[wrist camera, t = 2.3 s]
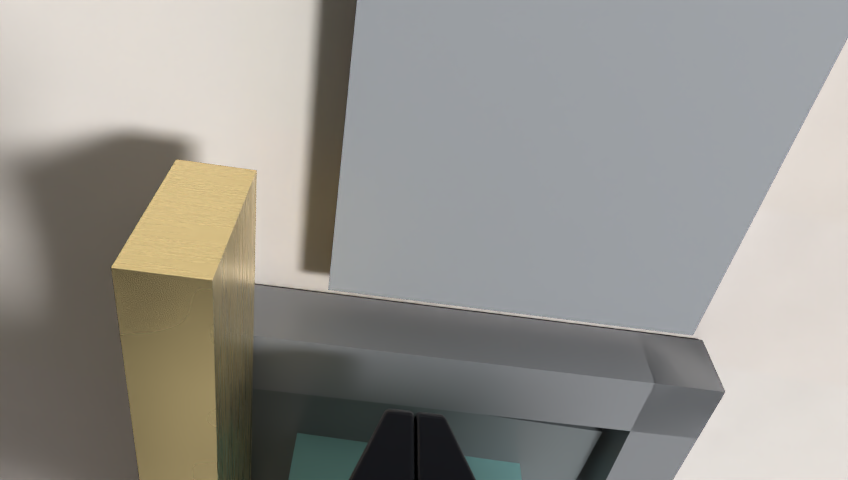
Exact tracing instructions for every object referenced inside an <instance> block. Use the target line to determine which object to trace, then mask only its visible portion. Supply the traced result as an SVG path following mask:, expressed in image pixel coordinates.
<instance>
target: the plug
mask: <svg viewBox="0 0 848 480" xmlns="http://www.w3.org/2000/svg"><path fill="white" fill-rule="evenodd" d="M386 409H399V410H408V411H412V412H413V413H414V416H415V414H416V413H418V412H426V413H435V414H441V415H443V416H444V417H445V418H446V419H447V421H448V423H449V425H450V427H451V429H452V431H453V433H454V435H455V438H456V440H457V442H458V444H459V446H460V448H461V450H462V452H463V454H464V456H465V458H466V460H467V462H468V464H469V466H470V469H471V471H472V473H473V475H474V477H475V479H476V480H576V479H577V477H578V476H579V474H580V472H581V470H582V468H583V466H584V465H585V463H586V461H587V459H588V457H589V456H590V454H591V452H592V450H593V448H594V446H595V445H596V443H597V441H598V439H599V437H600V436H601V434H602V428H598V427H589V426H581V425H572V424H563V423H554V422H545V421H536V420H527V419H518V418H510V417H501V416H492V415H483V414H474V413H465V412H456V411H447V410H439V409H430V408H421V407H412V406H403V405H394V404H385V403H376V402H368V401H359V400H350V399H341V398H332V397H323V396H314V395H305V394H297V393H288V392H279V391H270V390H261V389H253V391H252V445H251V480H349V478H350V476H351V474H352V472H353V470H354V468H355V466H356V464H357V463H358V461H359V459H360V457H361V455H362V453H363V451H364V449H365V447H366V445H367V443H368V441H369V440H370V438H371V436H372V434H373V432H374V430H375V428H376V426H377V424H378V422H379V420H380V418H381V417H382V415H383V413H384V411H385V410H386Z"/></svg>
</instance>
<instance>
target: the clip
mask: <svg viewBox="0 0 848 480" xmlns="http://www.w3.org/2000/svg"><path fill="white" fill-rule="evenodd" d="M256 176H257V170H250V169H242V168H235V167H228V166H221V165H213V164H206V163H199V162H192V161H184V160H177V159H176V161H175V162H174V164H173V166H172V167H171V169H170V171H169V172H168V174H167V176H166V177H165V179H164V180H163V182H162V184H161V185H160V187H159V189H158V190H157V192H156V194H155V195H154V197H153V199H152V200H151V202H150V204H149V205H148V207H147V209H146V210H145V212H144V214H143V215H142V217H141V219H140V220H139V222H138V224H137V225H136V227H135V229H134V230H133V232H132V234H131V235H130V237H129V239H128V240H127V242H126V244H125V245H124V247H123V249H122V250H121V252H120V254H119V255H118V257H117V259H116V260H115V262H114V264H113V265H112V267H111V271H112V279H113V286H114V294H115V301H116V309H117V316H118V324H119V331H120V338H121V346H122V353H123V361H124V368H125V376H126V383H127V391H128V398H129V406H130V413H131V421H132V428H133V436H134V443H135V451H136V458H137V465H138V473H139V480H251V445H252V391H253V337H254V283H255V229H256Z"/></svg>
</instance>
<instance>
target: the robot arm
mask: <svg viewBox="0 0 848 480" xmlns="http://www.w3.org/2000/svg"><path fill="white" fill-rule="evenodd" d="M349 480H476V479H475V477H474V475H473V473H472V471H471V469H470V466H469V464H468V462H467V460H466V458H465V456H464V454H463V452H462V450H461V448H460V446H459V444H458V442H457V440H456V438H455V435H454V433H453V431H452V429H451V427H450V425H449V423H448V421H447V419H446V418H445V417H444V416H443V415H441V414H435V413H426V412H418V413H416V414H415V416H414V413H413V412H412V411H408V410H399V409H386V410H385V411H384V413H383V415H382V417H381V418H380V420H379V422H378V424H377V426H376V428H375V430H374V432H373V434H372V436H371V438H370V440H369V441H368V443H367V445H366V447H365V449H364V451H363V453H362V455H361V457H360V459H359V461H358V463H357V464H356V466H355V468H354V470H353V472H352V474H351V476H350V478H349Z"/></svg>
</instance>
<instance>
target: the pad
mask: <svg viewBox="0 0 848 480" xmlns="http://www.w3.org/2000/svg"><path fill="white" fill-rule="evenodd" d="M847 38H848V0H357V5H356V16H355V26H354V36H353V46H352V56H351V66H350V76H349V86H348V96H347V107H346V117H345V127H344V137H343V147H342V157H341V167H340V177H339V187H338V197H337V208H336V218H335V228H334V238H333V248H332V258H331V268H330V278H329V288H328V290H334V291H342V292H350V293H358V294H366V295H374V296H382V297H390V298H398V299H406V300H414V301H422V302H430V303H438V304H446V305H454V306H462V307H470V308H478V309H486V310H494V311H502V312H510V313H518V314H526V315H534V316H542V317H550V318H558V319H566V320H574V321H582V322H590V323H598V324H606V325H614V326H622V327H630V328H638V329H646V330H654V331H662V332H670V333H678V334H686V335H693V334H694V332H695V330H696V328H697V326H698V325H699V323H700V321H701V319H702V317H703V315H704V313H705V311H706V309H707V307H708V305H709V303H710V301H711V300H712V298H713V296H714V294H715V292H716V290H717V288H718V286H719V284H720V282H721V280H722V278H723V277H724V275H725V273H726V271H727V269H728V267H729V265H730V263H731V261H732V259H733V257H734V255H735V253H736V252H737V250H738V248H739V246H740V244H741V242H742V240H743V238H744V236H745V234H746V232H747V230H748V228H749V227H750V225H751V223H752V221H753V219H754V217H755V215H756V213H757V211H758V209H759V207H760V205H761V204H762V202H763V200H764V198H765V196H766V194H767V192H768V190H769V188H770V186H771V184H772V182H773V180H774V179H775V177H776V175H777V173H778V171H779V169H780V167H781V165H782V163H783V161H784V159H785V157H786V155H787V154H788V152H789V150H790V148H791V146H792V144H793V142H794V140H795V138H796V136H797V134H798V132H799V131H800V129H801V127H802V125H803V123H804V121H805V119H806V117H807V115H808V113H809V111H810V109H811V107H812V106H813V104H814V102H815V100H816V98H817V96H818V94H819V92H820V90H821V88H822V86H823V84H824V82H825V81H826V79H827V77H828V75H829V73H830V71H831V69H832V67H833V65H834V63H835V61H836V59H837V58H838V56H839V54H840V52H841V50H842V48H843V46H844V44H845V42H846V40H847Z"/></svg>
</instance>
